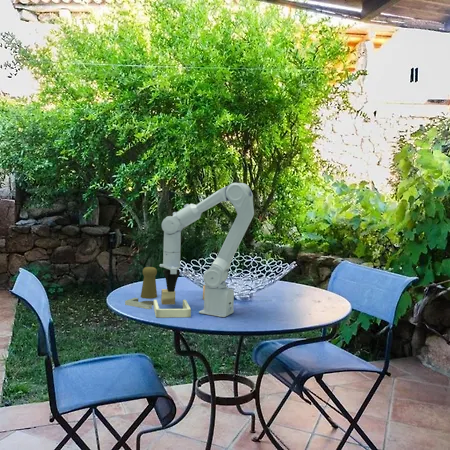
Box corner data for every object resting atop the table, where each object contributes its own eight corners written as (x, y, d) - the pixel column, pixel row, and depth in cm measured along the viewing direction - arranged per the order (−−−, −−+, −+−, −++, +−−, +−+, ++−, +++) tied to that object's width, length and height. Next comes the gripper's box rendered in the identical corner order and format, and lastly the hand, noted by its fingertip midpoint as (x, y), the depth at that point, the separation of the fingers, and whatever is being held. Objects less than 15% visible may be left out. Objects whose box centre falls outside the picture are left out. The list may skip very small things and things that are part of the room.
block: (174, 304, 175) (175, 292, 174) (162, 304, 174) (162, 292, 174) (173, 301, 179) (174, 289, 179) (161, 301, 178) (161, 289, 178)
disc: (160, 302, 176) (160, 302, 176) (150, 306, 170) (150, 305, 170) (145, 300, 178) (145, 299, 178) (136, 303, 173) (136, 303, 173)
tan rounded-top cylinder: (218, 298, 186) (219, 285, 186) (212, 301, 182) (213, 288, 181) (206, 296, 188) (207, 283, 188) (200, 299, 184) (200, 286, 183)
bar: (158, 306, 172) (158, 301, 172) (149, 309, 167) (149, 305, 167) (134, 301, 176) (134, 297, 176) (125, 304, 171) (125, 300, 171)
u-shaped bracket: (190, 317, 159) (190, 309, 159) (156, 317, 157) (156, 309, 157) (185, 306, 172) (185, 299, 172) (153, 307, 170) (153, 299, 170)
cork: (158, 295, 187) (159, 266, 186) (155, 299, 181) (156, 269, 180) (143, 294, 188) (143, 265, 187) (138, 297, 182) (139, 268, 181)
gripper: (158, 248, 175) (157, 286, 176) (161, 254, 160) (160, 296, 162) (178, 248, 176) (177, 286, 177) (183, 254, 162) (182, 296, 163)
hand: (170, 291), depth 169 cm, fingers closed
